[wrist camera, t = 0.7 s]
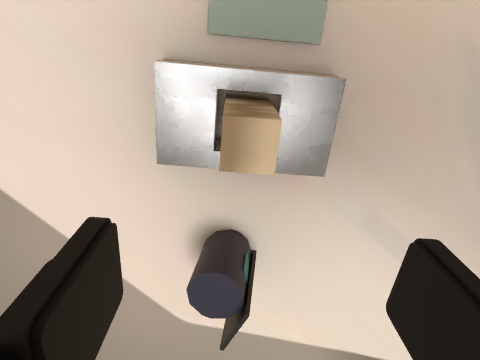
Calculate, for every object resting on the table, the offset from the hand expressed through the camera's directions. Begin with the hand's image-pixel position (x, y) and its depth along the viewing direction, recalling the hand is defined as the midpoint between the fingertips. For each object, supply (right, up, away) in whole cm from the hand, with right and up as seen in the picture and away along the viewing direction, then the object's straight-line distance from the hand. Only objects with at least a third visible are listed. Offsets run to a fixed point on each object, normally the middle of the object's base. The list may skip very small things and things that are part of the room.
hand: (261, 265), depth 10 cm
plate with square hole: (0, +9, +20) cm, 22 cm away
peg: (0, +9, +20) cm, 22 cm away
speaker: (-3, -6, +27) cm, 28 cm away
